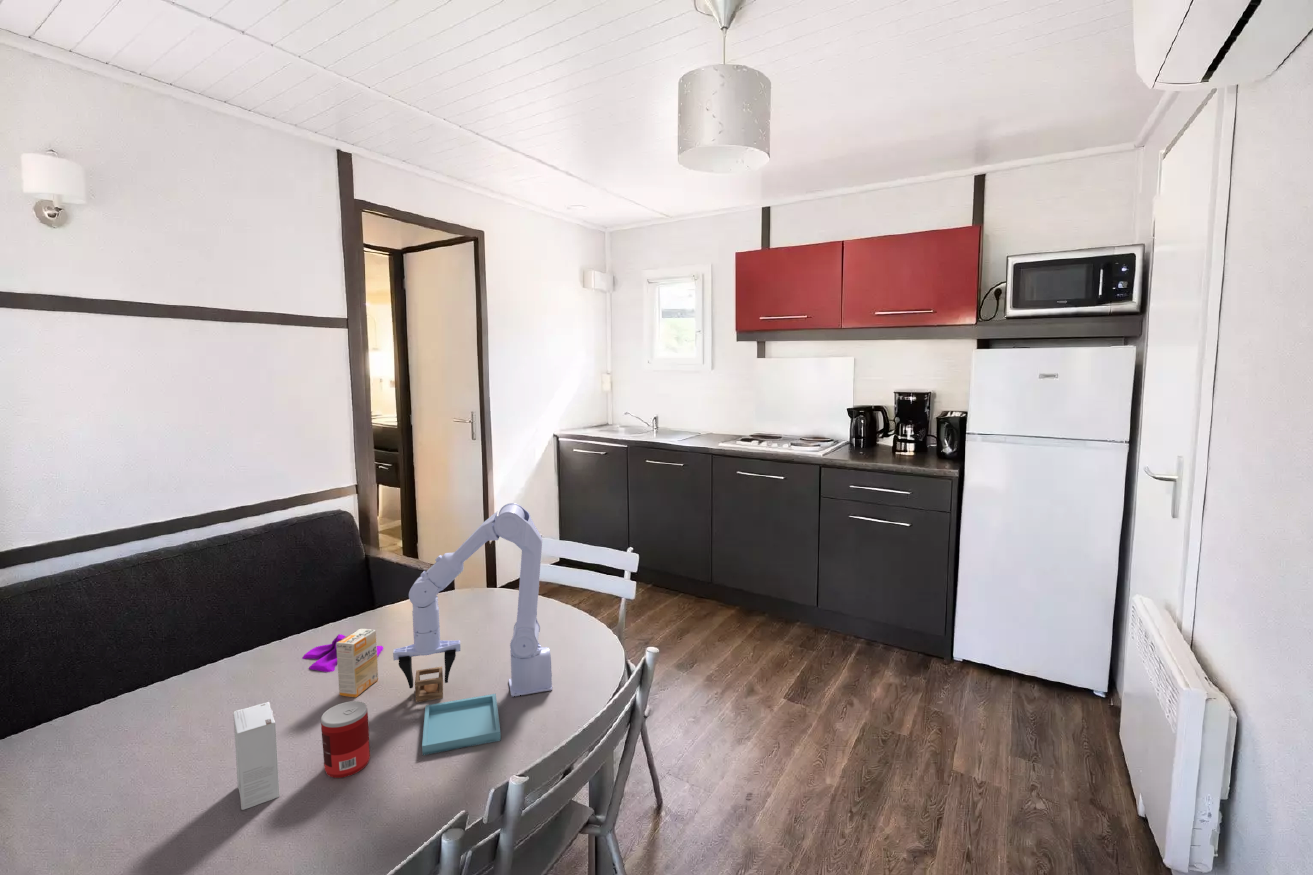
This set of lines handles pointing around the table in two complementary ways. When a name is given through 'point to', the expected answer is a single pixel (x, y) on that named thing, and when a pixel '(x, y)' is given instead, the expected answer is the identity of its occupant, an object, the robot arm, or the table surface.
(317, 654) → the cloth
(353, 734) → the canned food
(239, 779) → the skincare box
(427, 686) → the ball
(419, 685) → the wooden cage puzzle
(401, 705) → the table surface
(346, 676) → the supplement box
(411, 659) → the robot arm
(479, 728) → the tray
